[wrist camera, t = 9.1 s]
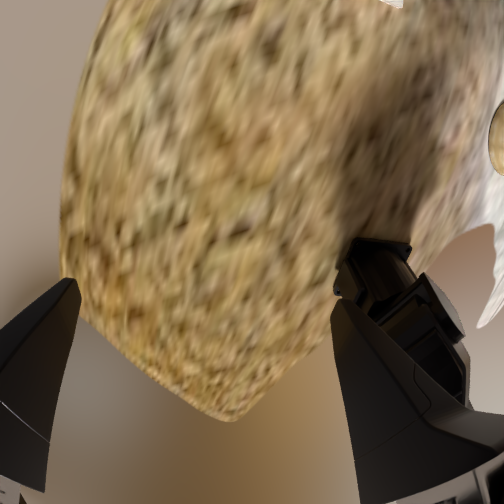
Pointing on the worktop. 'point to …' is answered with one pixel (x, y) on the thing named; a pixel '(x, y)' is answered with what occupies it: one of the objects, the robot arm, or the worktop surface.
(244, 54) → the worktop surface
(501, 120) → the hand bell
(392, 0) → the tile
